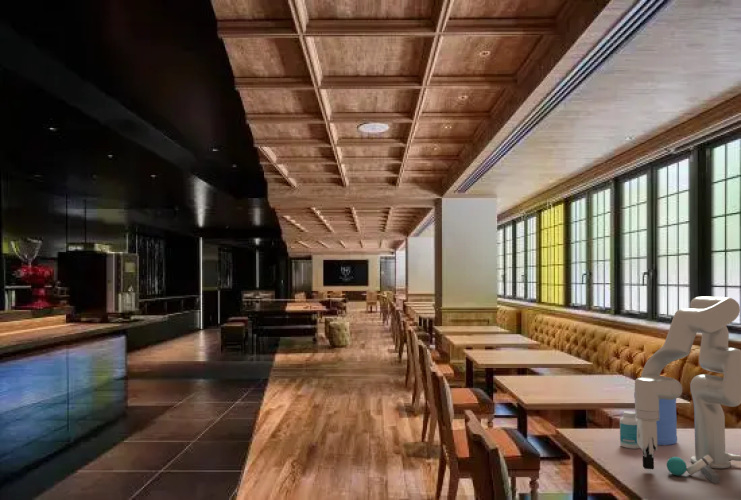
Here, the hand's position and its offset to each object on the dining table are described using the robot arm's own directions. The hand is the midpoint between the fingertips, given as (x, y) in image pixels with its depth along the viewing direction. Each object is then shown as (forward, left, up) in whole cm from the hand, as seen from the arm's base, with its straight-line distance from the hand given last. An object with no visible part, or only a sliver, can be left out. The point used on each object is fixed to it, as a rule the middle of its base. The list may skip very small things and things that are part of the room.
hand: (648, 468), depth 202 cm
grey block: (-19, 0, -2) cm, 19 cm away
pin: (-12, 0, -1) cm, 13 cm away
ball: (-9, +1, +2) cm, 9 cm away
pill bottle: (0, -32, -2) cm, 32 cm away
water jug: (-12, -44, -2) cm, 46 cm away
